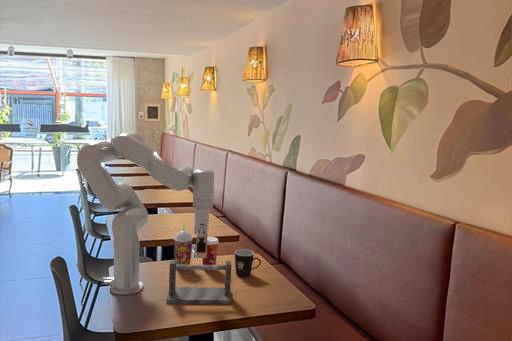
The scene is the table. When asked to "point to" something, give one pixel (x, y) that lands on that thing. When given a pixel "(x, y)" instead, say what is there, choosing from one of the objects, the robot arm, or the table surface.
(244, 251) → the coffee mug
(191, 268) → the rack
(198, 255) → the open topped box
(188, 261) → the smoothie
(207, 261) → the paper cup
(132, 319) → the table surface
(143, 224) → the robot arm
